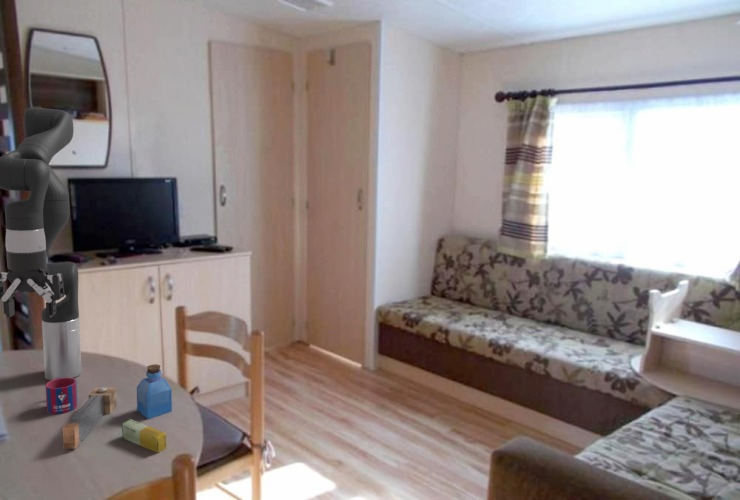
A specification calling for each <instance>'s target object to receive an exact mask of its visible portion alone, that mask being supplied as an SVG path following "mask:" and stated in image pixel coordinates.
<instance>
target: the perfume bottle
mask: <svg viewBox="0 0 740 500" xmlns="http://www.w3.org/2000/svg"><path fill="white" fill-rule="evenodd" d="M146 369H147V371H146V372H145V373H146V377H144V378H142V379H141V381H140V382H139V384H138V385H137V386H136V410H137V412H139V413H140V414H141V415H142V416H144V418H146V419H147V420H151V419H153V418H156V417H160V416H162V415H165V414H168V413H170V412H173V408H172V407H173V405H172V404H173V402H172V401H173V399H172V388H171V386H170V385H169V383H168V382H167V380H166V379H165V378H164V377H162V376H161V375H162V370H161V365H160V364H158V363H157V364H156V363H154V364H149V365H148V366H146Z"/></svg>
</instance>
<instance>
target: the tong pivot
mask: <svg viewBox="0 0 740 500" xmlns="http://www.w3.org/2000/svg"><path fill="white" fill-rule="evenodd" d="M92 395H103V398H104V414H103V415H110V414H112V412H113V411H114V410H115V408H117V387H95V388H93V390H92V391H91V392H90V393H89V394H88V399H89V398H90V397H91V396H92Z"/></svg>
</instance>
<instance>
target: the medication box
mask: <svg viewBox="0 0 740 500" xmlns="http://www.w3.org/2000/svg"><path fill="white" fill-rule="evenodd" d="M121 433H122V434H121V435H122V436H121V437H122V439H124V440H127V441H129V442H131V443H133V444H136V445H138V446H141V447H143V448H145V449H147V450H150V451H152V452H154V453H157V454H158V453H161V452H163V451H165V450H166V449H167V433H166V432H163V431H161V430H158V429H156V428H154V427H152V426H149V425H146V424H144V423H141V422H139V421H136V420H134V419H132V418H129V419H128V420H127V419H126V420H125V421H123V422H122V423H121Z"/></svg>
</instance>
